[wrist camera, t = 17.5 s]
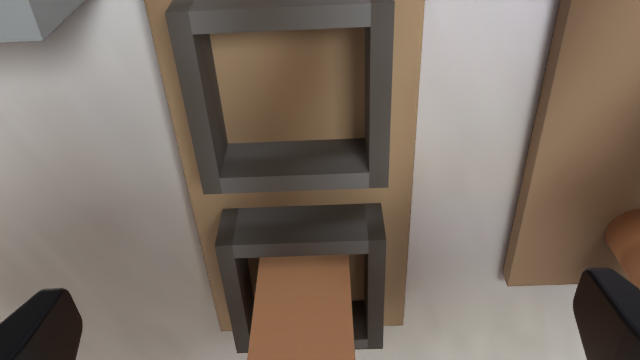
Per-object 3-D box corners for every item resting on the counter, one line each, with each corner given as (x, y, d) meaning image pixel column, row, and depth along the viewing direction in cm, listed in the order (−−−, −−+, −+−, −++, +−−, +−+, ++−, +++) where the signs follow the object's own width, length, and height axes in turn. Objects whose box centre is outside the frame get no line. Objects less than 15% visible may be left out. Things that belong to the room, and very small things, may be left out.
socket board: (420, -78, 16) (442, -46, 13) (398, 299, 25) (408, 364, 23) (146, -64, 16) (109, -31, 13) (225, 304, 26) (214, 370, 23)
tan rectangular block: (346, 230, 21) (355, 366, 16) (348, 288, 23) (356, 426, 18) (262, 232, 21) (246, 369, 16) (270, 290, 23) (258, 429, 18)
